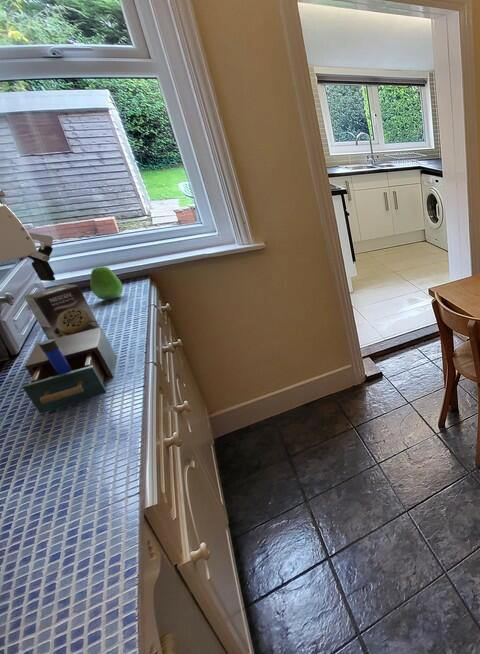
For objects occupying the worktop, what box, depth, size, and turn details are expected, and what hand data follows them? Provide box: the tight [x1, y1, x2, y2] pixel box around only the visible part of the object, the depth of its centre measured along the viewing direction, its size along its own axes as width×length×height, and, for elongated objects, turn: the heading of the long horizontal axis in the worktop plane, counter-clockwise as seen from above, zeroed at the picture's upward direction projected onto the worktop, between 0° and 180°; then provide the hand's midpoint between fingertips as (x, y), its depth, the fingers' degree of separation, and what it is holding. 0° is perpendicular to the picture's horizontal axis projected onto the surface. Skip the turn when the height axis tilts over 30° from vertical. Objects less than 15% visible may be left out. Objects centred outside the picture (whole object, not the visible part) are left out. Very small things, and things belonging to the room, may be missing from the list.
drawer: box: [22, 351, 108, 415], centre depth 90 cm, size 17×10×7 cm, turn 40°
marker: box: [38, 339, 72, 375], centre depth 89 cm, size 2×2×12 cm
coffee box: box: [23, 283, 101, 340], centre depth 112 cm, size 9×6×16 cm
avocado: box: [89, 266, 123, 301], centre depth 143 cm, size 8×8×12 cm
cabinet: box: [24, 326, 117, 381], centre depth 98 cm, size 14×12×9 cm
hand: (18, 289), depth 80 cm, fingers open, 9 cm apart
